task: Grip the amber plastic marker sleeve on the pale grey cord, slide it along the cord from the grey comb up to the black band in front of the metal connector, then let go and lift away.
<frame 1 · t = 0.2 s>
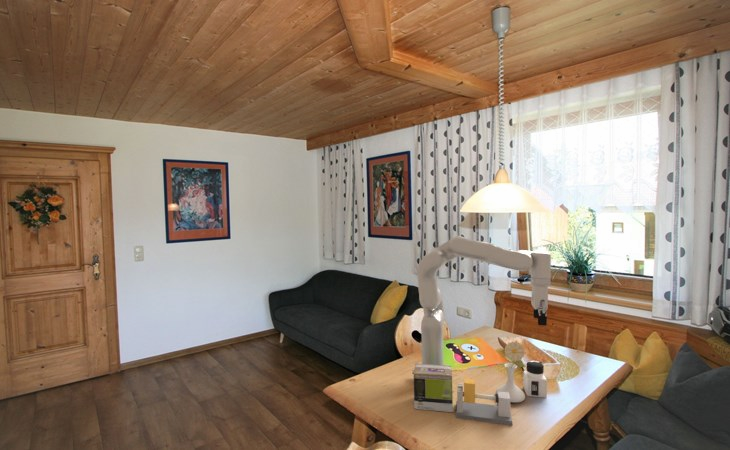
hand: (539, 321, 157), 31 cm above the table, fingers open, 9 cm apart
tea box: (433, 405, 151), on the table
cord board: (482, 414, 143), on the table
container: (534, 393, 159), on the table
flower in vase: (511, 399, 154), on the table
sleeve: (469, 390, 144), point 9 cm above the table, slide at 0.0 cm
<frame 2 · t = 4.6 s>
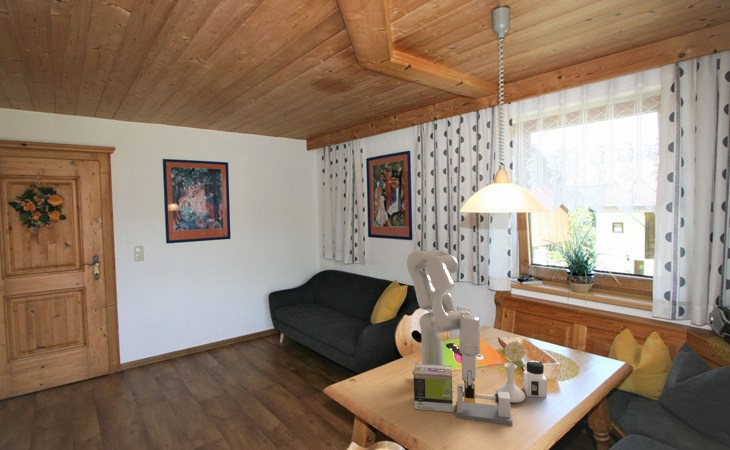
hand: (469, 394, 144), 7 cm above the table, fingers closed on sleeve, 4 cm apart
sleeve: (469, 390, 144), point 9 cm above the table, slide at 0.0 cm, touching gripper
everything else where it was.
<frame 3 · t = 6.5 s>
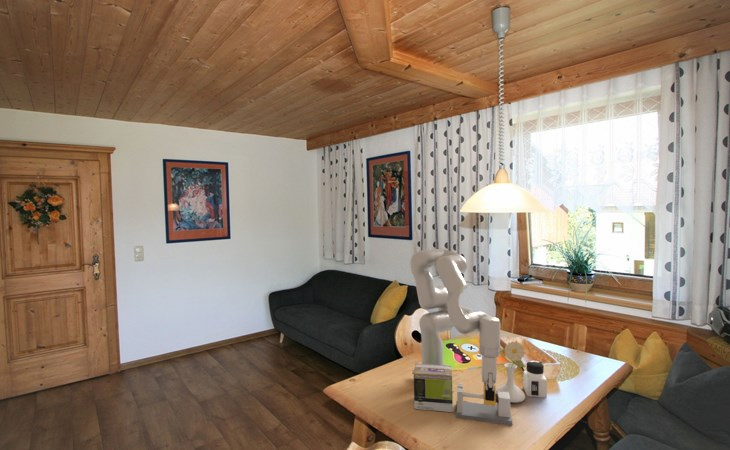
hand: (489, 396, 142), 7 cm above the table, fingers closed on sleeve, 4 cm apart
sleeve: (489, 392, 142), point 9 cm above the table, slide at 7.3 cm, touching gripper
everything else where it was.
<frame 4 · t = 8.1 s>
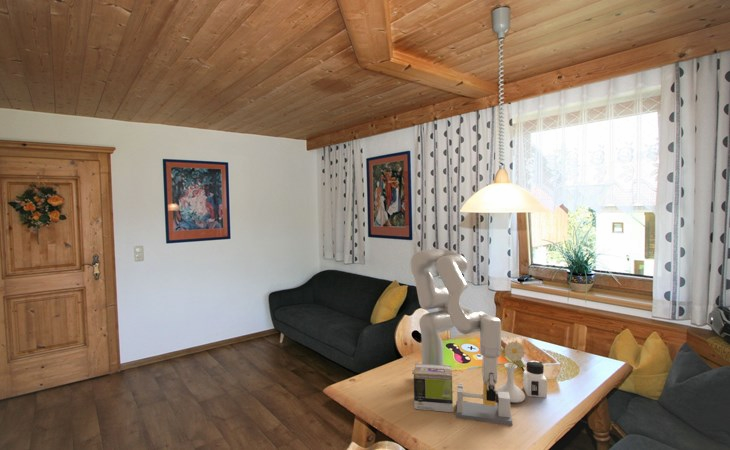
hand: (490, 394, 142), 8 cm above the table, fingers open, 9 cm apart
sleeve: (488, 392, 142), point 9 cm above the table, slide at 7.2 cm
everything else where it was.
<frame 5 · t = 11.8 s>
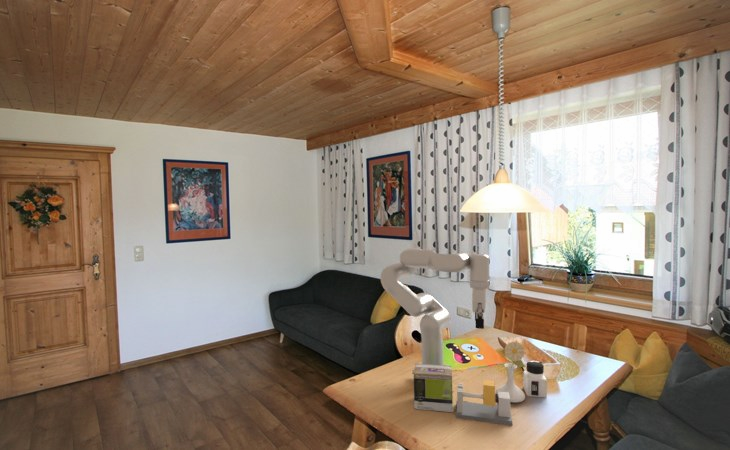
hand: (479, 324, 156), 30 cm above the table, fingers open, 9 cm apart
nothing on the table moved.
at the end: sleeve slide at 7.2 cm; the gripper is holding nothing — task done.
